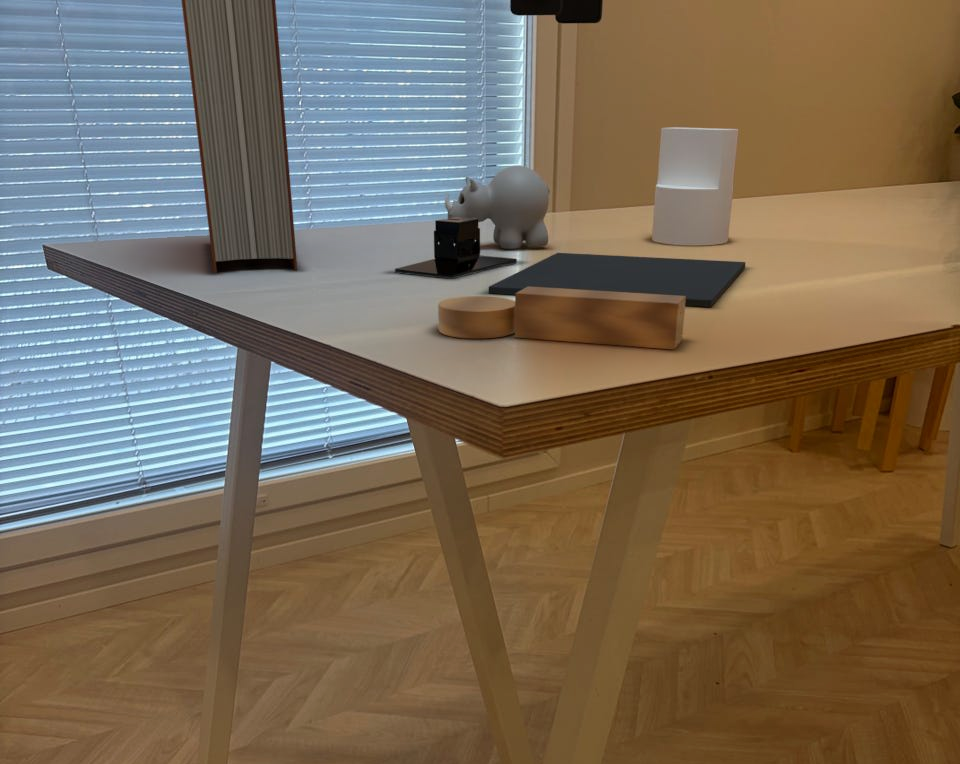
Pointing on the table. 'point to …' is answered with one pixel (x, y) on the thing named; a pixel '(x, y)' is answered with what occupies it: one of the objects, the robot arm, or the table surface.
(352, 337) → the table surface
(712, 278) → the mat
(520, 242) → the round bodied animal figurine
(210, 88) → the book
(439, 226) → the black block on plate
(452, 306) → the wooden disc with bar
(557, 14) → the robot arm
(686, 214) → the cylinder with rectangular tab
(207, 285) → the table surface
